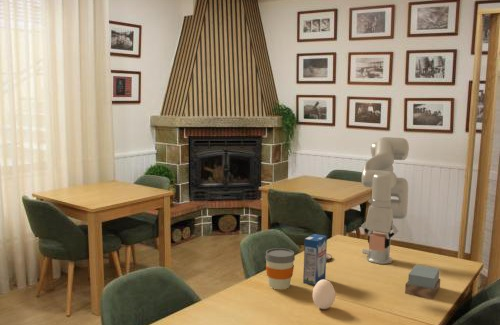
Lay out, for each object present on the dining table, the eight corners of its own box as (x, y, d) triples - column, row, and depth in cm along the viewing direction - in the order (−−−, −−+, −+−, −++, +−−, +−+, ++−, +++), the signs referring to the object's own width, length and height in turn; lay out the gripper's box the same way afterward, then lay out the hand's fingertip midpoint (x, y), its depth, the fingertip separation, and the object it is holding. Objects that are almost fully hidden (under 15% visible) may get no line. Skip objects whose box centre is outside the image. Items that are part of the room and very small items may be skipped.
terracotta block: (369, 249, 202) (369, 235, 201) (373, 245, 207) (374, 231, 206) (383, 251, 199) (384, 237, 198) (387, 247, 204) (388, 234, 203)
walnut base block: (404, 294, 205) (405, 284, 204) (413, 283, 217) (414, 273, 217) (432, 300, 199) (433, 290, 198) (439, 288, 212) (440, 278, 211)
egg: (319, 314, 183) (320, 285, 182) (307, 305, 191) (308, 277, 189) (339, 310, 186) (340, 282, 185) (326, 302, 194) (327, 274, 193)
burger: (333, 263, 242) (333, 248, 241) (309, 262, 242) (309, 248, 241) (329, 255, 254) (330, 241, 253) (306, 255, 254) (307, 241, 253)
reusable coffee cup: (298, 283, 213) (298, 250, 211) (287, 293, 202) (288, 258, 200) (271, 278, 219) (272, 246, 217) (260, 288, 207) (260, 254, 205)
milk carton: (316, 286, 211) (317, 241, 208) (303, 283, 214) (304, 238, 212) (325, 279, 219) (327, 235, 217) (312, 276, 223) (314, 233, 220)
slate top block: (408, 284, 204) (408, 274, 203) (414, 274, 216) (415, 264, 216) (433, 289, 199) (433, 278, 199) (438, 278, 211) (439, 268, 211)
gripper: (357, 202, 202) (355, 244, 204) (399, 208, 192) (396, 252, 195) (363, 199, 208) (361, 240, 210) (404, 204, 199) (402, 247, 201)
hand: (378, 245), depth 203 cm, fingers closed on terracotta block, 6 cm apart
